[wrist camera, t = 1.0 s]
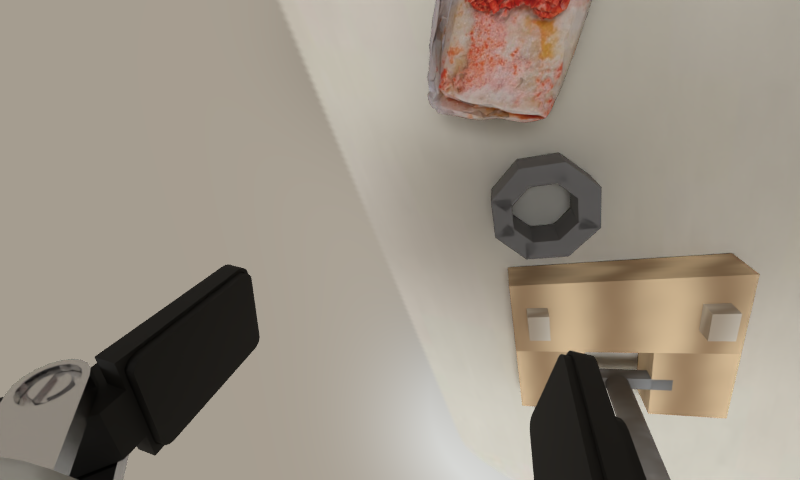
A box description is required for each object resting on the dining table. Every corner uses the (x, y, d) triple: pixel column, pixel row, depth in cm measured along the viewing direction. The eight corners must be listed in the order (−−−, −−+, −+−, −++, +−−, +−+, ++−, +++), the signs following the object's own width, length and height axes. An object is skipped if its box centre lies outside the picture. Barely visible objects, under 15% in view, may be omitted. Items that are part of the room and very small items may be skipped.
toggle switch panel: (732, 253, 25) (878, 365, 15) (706, 388, 30) (802, 533, 21) (507, 267, 30) (513, 358, 20) (520, 381, 35) (529, 494, 26)
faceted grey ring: (590, 147, 24) (601, 156, 22) (590, 236, 27) (600, 254, 24) (488, 163, 26) (487, 173, 24) (498, 244, 29) (498, 261, 27)
